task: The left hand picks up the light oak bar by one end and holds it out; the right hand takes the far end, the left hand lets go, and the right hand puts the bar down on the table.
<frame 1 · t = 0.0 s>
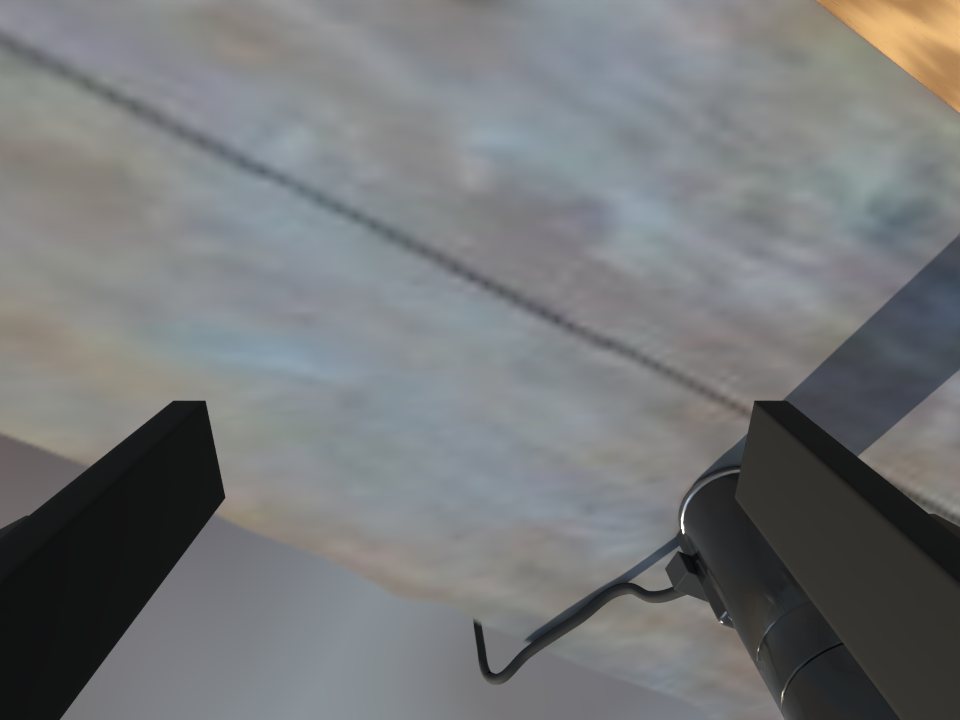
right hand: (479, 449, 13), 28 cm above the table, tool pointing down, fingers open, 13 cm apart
bar: (948, 51, 34), on the table
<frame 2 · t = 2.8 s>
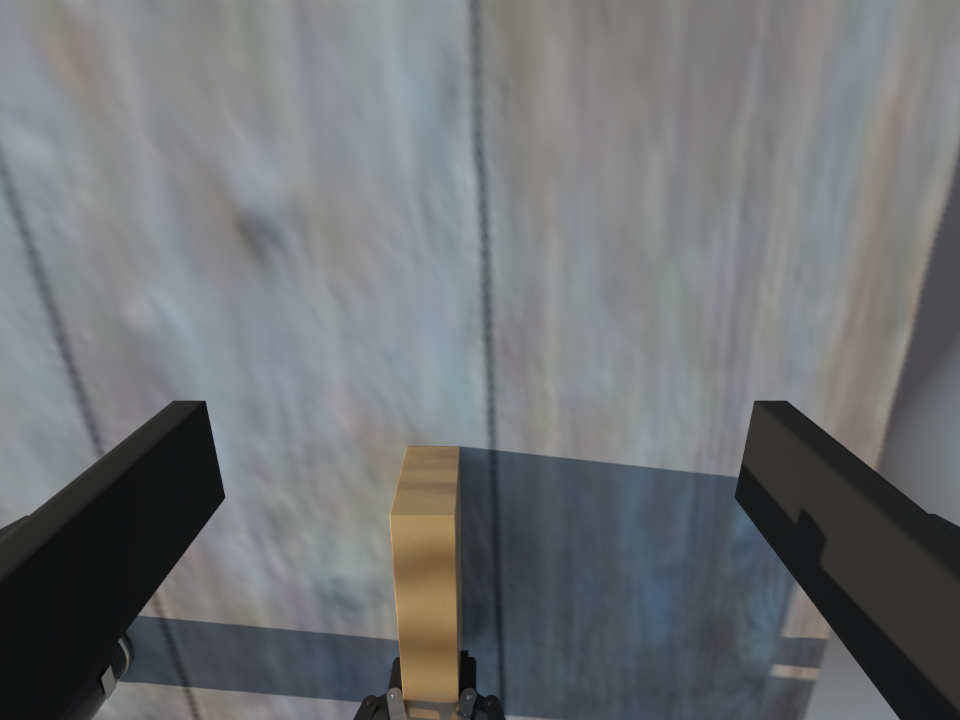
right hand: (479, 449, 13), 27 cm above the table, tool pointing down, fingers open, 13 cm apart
bar: (437, 556, 48), on the table, touching left hand
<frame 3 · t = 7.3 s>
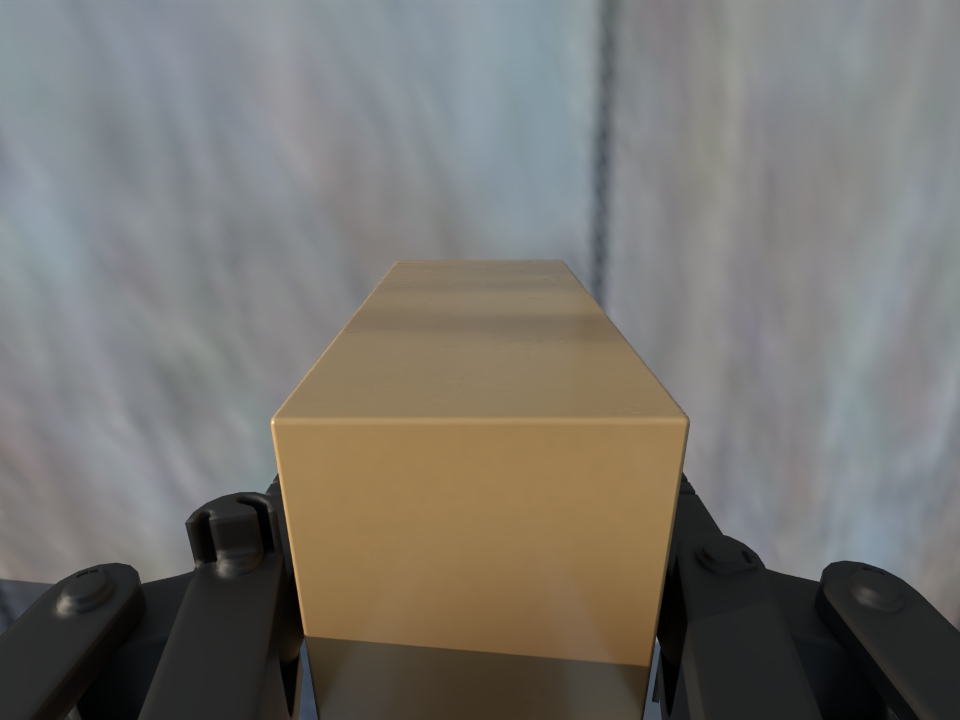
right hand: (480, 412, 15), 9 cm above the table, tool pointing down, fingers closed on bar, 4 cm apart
bar: (480, 594, 18), point 8 cm above the table, touching right hand, left hand
when the left hand's fingers open (13 cm above the table, at t = 8.0 s): bar stays where it is, held by the right hand.
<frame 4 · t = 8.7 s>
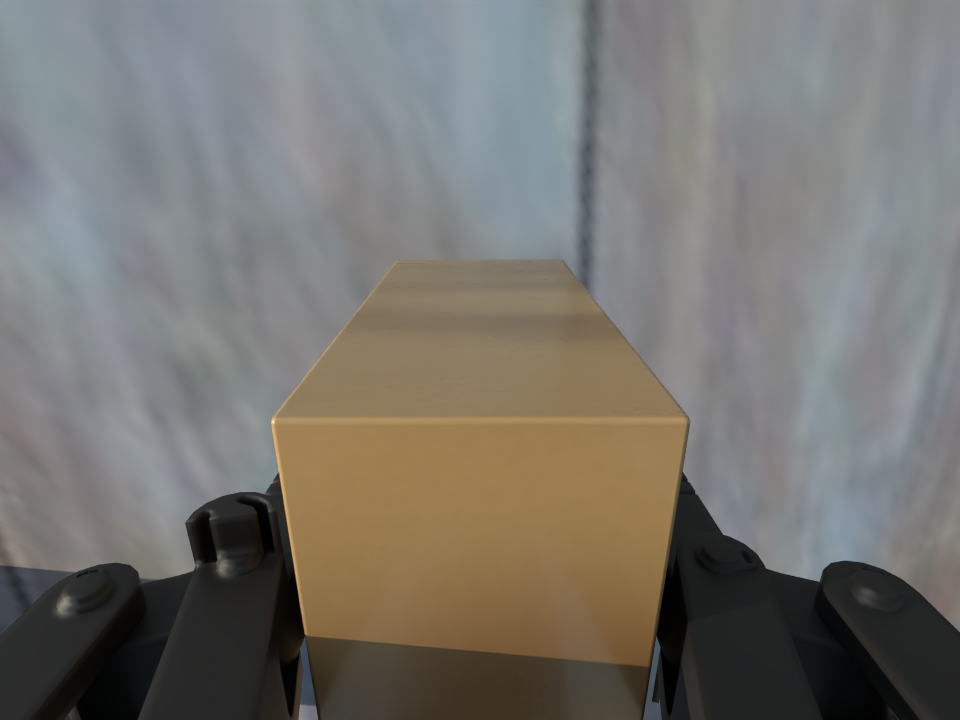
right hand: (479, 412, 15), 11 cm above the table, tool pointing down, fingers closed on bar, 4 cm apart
bar: (480, 594, 18), point 10 cm above the table, touching right hand
when the right hand's fingers open (2 cm above the table, at t = 14.6 s): bar drops 1 cm, on the table.
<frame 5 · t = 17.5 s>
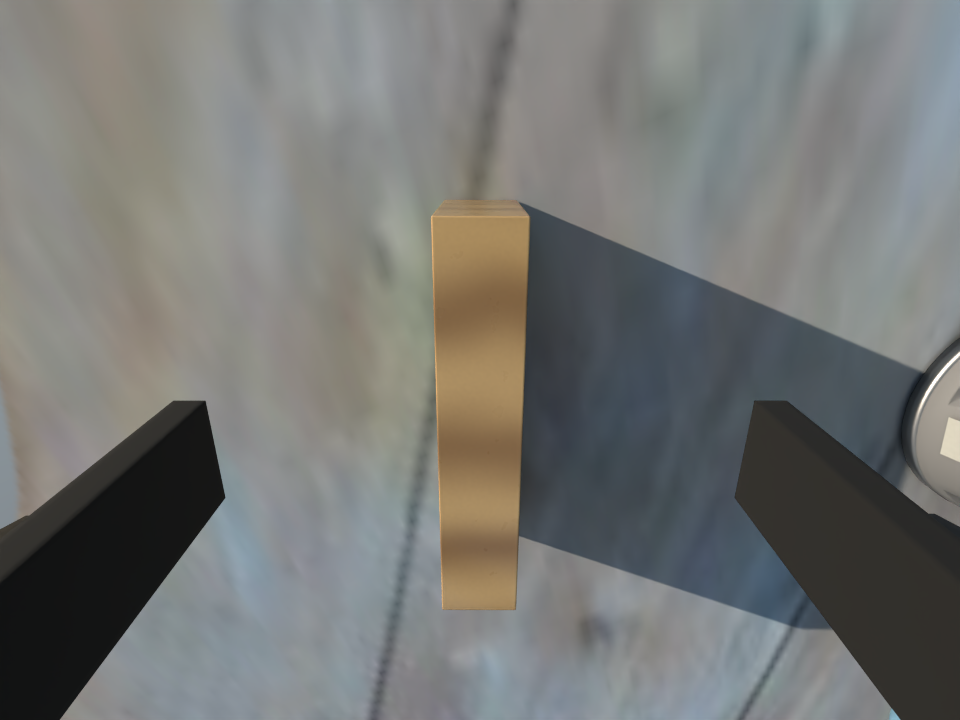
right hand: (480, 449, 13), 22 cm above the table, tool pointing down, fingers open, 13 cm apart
bar: (480, 375, 36), on the table
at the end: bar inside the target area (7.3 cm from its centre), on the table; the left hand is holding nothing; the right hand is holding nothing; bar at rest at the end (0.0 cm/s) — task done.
